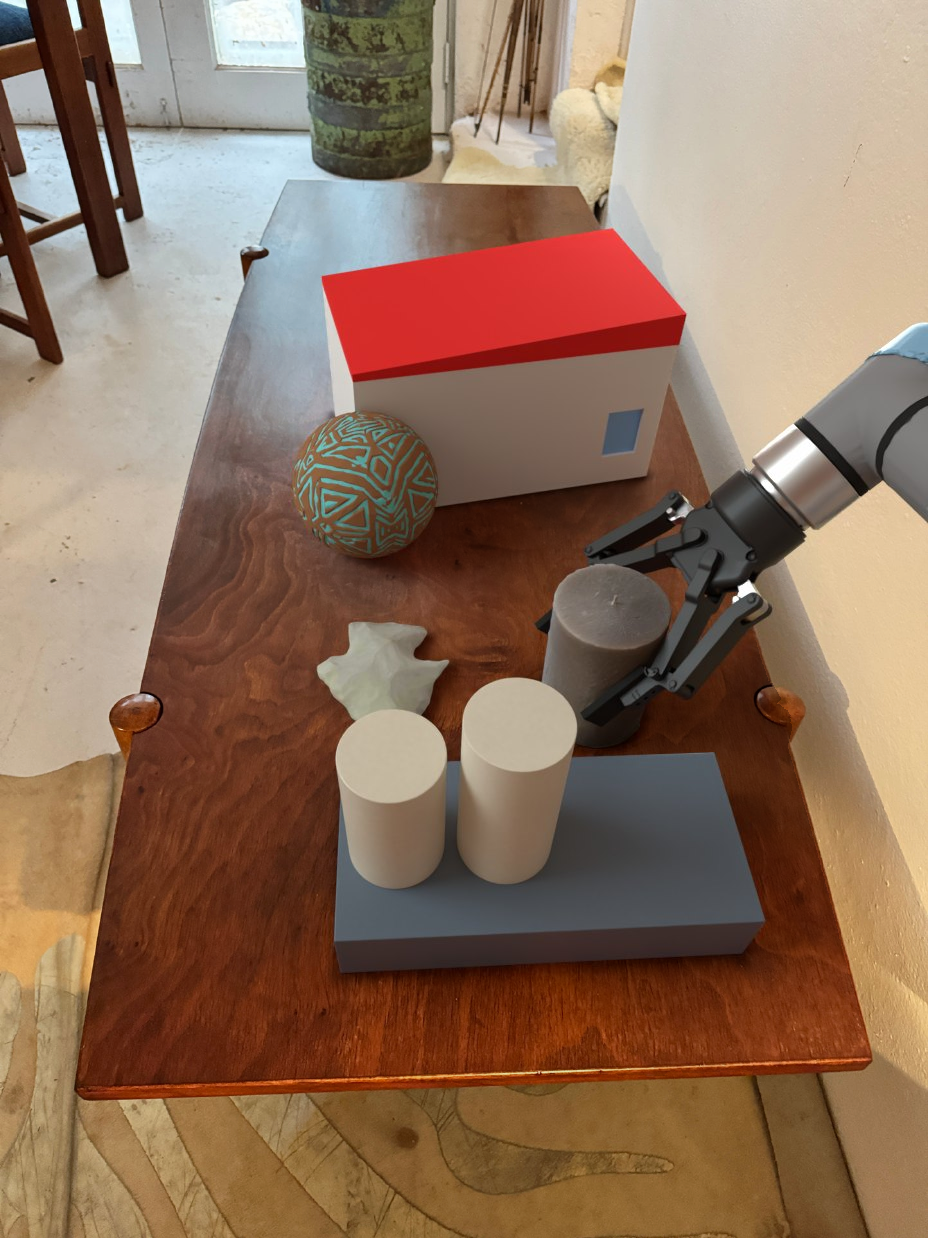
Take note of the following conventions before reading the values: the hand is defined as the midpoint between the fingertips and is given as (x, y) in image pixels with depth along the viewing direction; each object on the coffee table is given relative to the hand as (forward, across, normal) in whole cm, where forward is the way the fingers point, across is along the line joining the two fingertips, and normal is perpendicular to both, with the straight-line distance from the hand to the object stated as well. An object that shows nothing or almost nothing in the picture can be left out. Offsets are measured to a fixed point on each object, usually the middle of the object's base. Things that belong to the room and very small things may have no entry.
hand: (566, 673), depth 73 cm
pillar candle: (+2, 0, -6) cm, 7 cm away
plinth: (+10, -14, +1) cm, 17 cm away
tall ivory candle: (+8, -13, +8) cm, 17 cm away
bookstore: (-1, +41, -10) cm, 42 cm away
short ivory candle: (+13, -11, +13) cm, 21 cm away
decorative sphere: (+12, +28, +4) cm, 31 cm away
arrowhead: (+15, +7, +6) cm, 17 cm away
